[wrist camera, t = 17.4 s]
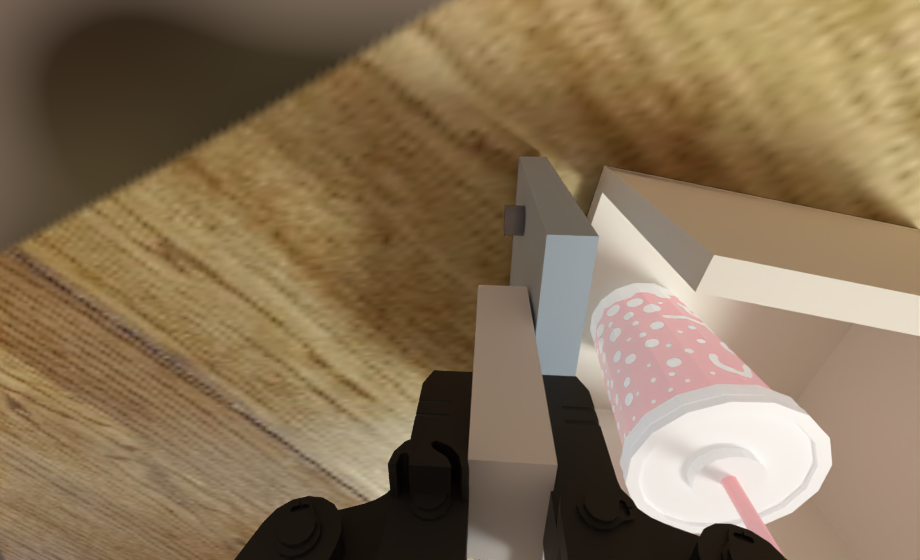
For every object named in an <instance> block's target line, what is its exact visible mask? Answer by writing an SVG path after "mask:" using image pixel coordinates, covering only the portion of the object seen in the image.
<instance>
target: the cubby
mask: <svg viewBox="0 0 920 560" xmlns="http://www.w3.org/2000/svg"><path fill="white" fill-rule="evenodd" d="M587 219H588V220H589V222H590V223H591V225H592V226H593V228H594V229H595V231H596V232H597V234H598V235H599V240H598V246H597V252H596V258H595V264H594V270H593V275H592V281H591V287H590V293H589V299H588V305H587V311H586V316H585V322H584V328H583V334H582V340H581V346H580V351H579V357H578V363H577V369H576V375H575V376H577V378H578V379H579V380H580V381H581V382H582V383H583V384H584V386H585V387H586V388H587V389H588V390H589V391H590V394H591V398H592V401H593V404H594V407H595V411H596V414H597V417H598V420H599V426H601V430H602V433H603V436H604V439H605V442H606V445H607V449H608V452H609V455H610V458H611V461H612V465H613V468H614V471H615V474H616V477H617V480H618V483H619V485H620V487H621V489H622V490H623V491H624V492H625V493H626V494H627V495H628V496H629V497H630V494H629V491H628V489H627V486H626V484H625V481H624V478H623V474H624V473H623V471H622V468H621V466H620V459H621V455H622V450H623V447H622V443H621V440H620V436H619V432H618V429H617V425H616V421H615V418H614V414H613V411H612V407H611V403H610V400H609V396H608V392H607V389H606V385H605V382H604V378H603V374H602V371H601V367H600V364H599V360H598V356H597V353H596V349H595V345H594V342H593V338H592V335H591V331H590V327H591V319H592V314H593V312H594V311H595V309H596V308H597V306H598V305H599V303H600V301H601V300H602V299H604V298H605V297H606V296H608V295H609V294H610V293H612V292H613V291H614V290H616V289H618V288H621V287H624V286H627V285H630V284H633V283H654V284H657V285H659V286H662V287H664V288H667V289H669V290H671V291H672V292H673V293H674V294H675V295H676V296H677V297H678V298H679V299H680V300H681V301H682V302H683V303H684V304H685V305H686V306H687V307H688V308H689V309H690V310H691V311H692V312H693V313H694V314H695V315H696V316H697V317H698V318H699V319H700V320H701V321H702V322H703V323H704V324H705V325H706V326H707V327H708V328H709V329H710V330H711V331H712V332H713V333H714V334H715V335H716V336H717V337H718V338H719V339H720V340H721V341H722V342H723V343H724V344H725V345H726V346H728V347H729V348H730V349H731V350H732V351H733V352H734V353H735V354H736V355H737V356H738V357H739V358H740V359H741V360H742V361H743V362H744V363H745V364H746V365H747V366H748V367H749V368H750V369H751V370H752V371H753V372H754V373H755V374H756V375H757V376H758V377H759V378H760V379H761V380H762V381H763V382H764V383H765V384H766V385H767V386H768V387H769V388H770V389H771V390H773V391H776V392H778V393H781V394H784V395H786V396H789V397H791V398H792V399H793V400H794V401H795V402H796V403H797V404H798V406H799V407H800V408H802V409H804V410H805V411H806V412H807V414H808V415H809V416H810V417H811V418H812V419H813V420H814V421H815V422H816V423H817V424H818V426H819V427H820V428H821V429H822V430H823V431H824V432H825V433H826V434H827V435H828V437H829V438H830V445H831V456H832V466H831V468H830V470H829V472H828V474H827V476H826V477H825V479H824V481H823V483H822V485H821V487H820V489H819V491H818V492H816V493H815V494H814V495H813V496H811V497H810V498H809V499H808V500H807V501H805V502H804V503H803V504H802V505H801V506H799V507H798V508H797V509H796V510H795V511H793V512H792V513H790V514H788V515H785V516H783V517H781V518H779V519H776V520H774V521H772V522H769V523H767V524H765V526H766V527H767V529H768V531H769V532H770V534H771V536H772V537H773V539H774V540H775V542H776V544H777V545H778V547H779V549H780V550H781V552H782V554H783V555H784V557H785V558H786V559H787V560H920V230H919V229H915V228H910V227H905V226H900V225H895V224H890V223H885V222H880V221H875V220H870V219H865V218H861V217H856V216H851V215H846V214H841V213H836V212H831V211H826V210H821V209H816V208H811V207H807V206H802V205H797V204H792V203H787V202H782V201H777V200H772V199H767V198H762V197H757V196H753V195H748V194H743V193H738V192H733V191H728V190H723V189H718V188H713V187H708V186H703V185H699V184H694V183H689V182H684V181H679V180H674V179H669V178H664V177H659V176H654V175H649V174H645V173H640V172H635V171H630V170H625V169H620V168H615V167H610V166H605V165H604V168H603V171H602V174H601V177H600V180H599V183H598V186H597V189H596V192H595V195H594V198H593V201H592V203H591V206H590V209H589V212H588V215H587ZM630 498H631V497H630ZM692 534H695V535H698V536H700V535H701V534H699V533H692ZM544 560H545V558H544Z"/></svg>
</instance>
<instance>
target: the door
mask: <svg viewBox="0 0 920 560" xmlns="http://www.w3.org/2000/svg"><path fill="white" fill-rule="evenodd" d="M504 235H512V236H513V247H512V260H511V274H510V286H522V287H527V290H528V296H529V302H530V308H531V314H532V319H533V325H534V331H535V337H536V343H537V348H538V354H539V360H540V366H541V371H542V375H560V376H575V375H576V369H577V363H578V357H579V351H580V346H581V340H582V334H583V328H584V322H585V316H586V311H587V305H588V299H589V293H590V287H591V281H592V275H593V270H594V264H595V258H596V252H597V246H598V240H599V235H598V234H597V232H596V231H595V229H594V228H593V226H592V225H591V223H590V222H589V220H588V219H587V217H586V216H585V214H584V213H583V211H582V210H581V208H580V207H579V205H578V204H577V202H576V201H575V199H574V198H573V196H572V195H571V193H570V192H569V190H568V189H567V187H566V186H565V184H564V183H563V181H562V180H561V178H560V177H559V175H558V174H557V172H556V171H555V169H554V168H553V166H552V165H551V163H550V162H549V160H548V159H547V157H526V156H519V165H518V178H517V192H516V205H505V212H504ZM542 560H544V551H543V558H542Z"/></svg>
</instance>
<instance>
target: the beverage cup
mask: <svg viewBox="0 0 920 560" xmlns="http://www.w3.org/2000/svg"><path fill="white" fill-rule="evenodd" d="M590 331H591V335H592V338H593V342H594V345H595V349H596V353H597V356H598V360H599V364H600V367H601V371H602V374H603V378H604V382H605V385H606V389H607V392H608V396H609V400H610V403H611V407H612V411H613V414H614V418H615V421H616V425H617V429H618V432H619V436H620V440H621V443H622V447H623V450H622V455H621V459H620V466H621V468H622V471H623V473H624V474H623V478H624V481H625V484H626V486H627V489H628V491H629V494H630V497H631V499H632V500H633V501H634V503H635V505H636V506H637V508H638V509H640V510H641V511H642V512H644V513H645V514H647V515H648V516H650V517H652V518H654V519H656V520H658V521H660V522H662V523H665V524H668V525H670V526H673V527H676V528H679V529H681V530H684V531H687V532H690V533H699V534H701V533H702V531H703V529H704V528H706V527H708V526H711V525H713V524H715V523H725V524H734V525H737V526H740V527H742V528H745V529H748V530H751V531H752V532H754V533H755V534H757V535H759V536H760V537H762V538H763V539H765V540H767V541H768V542H770V543H771V544H772V545H773V546H774V547H775V548H776V549H777V550H778V551H779V552H780V553H781V554H782V552H781V550H780V549H779V547H778V545H777V544H776V542H775V540H774V539H773V537H772V536H771V534H770V532H769V531H768V529H767V527H766V526H765V524H767V523H769V522H772V521H774V520H776V519H779V518H781V517H783V516H785V515H788V514H790V513H792V512H793V511H795V510H796V509H797V508H798V507H799V506H801V505H802V504H803V503H804V502H805V501H807V500H808V499H809V498H810V497H811V496H813V495H814V494H815V493H816V492H818V491H819V489H820V487H821V485H822V483H823V481H824V479H825V477H826V476H827V474H828V472H829V470H830V468H831V466H832V456H831V445H830V438H829V437H828V435H827V434H826V433H825V432H824V431H823V430H822V429H821V428H820V427H819V426H818V424H817V423H816V422H815V421H814V420H813V419H812V418H811V417H810V416H809V415H808V414H807V412H806V411H805V410H804V409H802V408H800V407H799V406H798V404H797V403H796V402H795V401H794V400H793V399H792V398H791V397H789V396H786V395H784V394H781V393H778V392H776V391H773V390H771V389H770V388H769V387H768V386H767V385H766V384H765V383H764V382H763V381H762V380H761V379H760V378H759V377H758V376H757V375H756V374H755V373H754V372H753V371H752V370H751V369H750V368H749V367H748V366H747V365H746V364H745V363H744V362H743V361H742V360H741V359H740V358H739V357H738V356H737V355H736V354H735V353H734V352H733V351H732V350H731V349H730V348H729V347H728V346H726V345H725V344H724V343H723V342H722V341H721V340H720V339H719V338H718V337H717V336H716V335H715V334H714V333H713V332H712V331H711V330H710V329H709V328H708V327H707V326H706V325H705V324H704V323H703V322H702V321H701V320H700V319H699V318H698V317H697V316H696V315H695V314H694V313H693V312H692V311H691V310H690V309H689V308H688V307H687V306H686V305H685V304H684V303H683V302H682V301H681V300H680V299H679V298H678V297H677V296H676V295H675V294H674V293H673V292H672V291H671V290H669V289H667V288H664V287H662V286H659V285H657V284H654V283H633V284H630V285H627V286H624V287H621V288H618V289H616V290H614V291H613V292H612V293H610V294H609V295H608V296H606V297H605V298H604V299H602V300H601V301H600V303H599V305H598V306H597V308H596V309H595V311H594V312H593V314H592V319H591V327H590ZM782 555H783V554H782ZM783 556H784V555H783Z"/></svg>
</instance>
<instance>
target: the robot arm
mask: <svg viewBox="0 0 920 560" xmlns="http://www.w3.org/2000/svg"><path fill="white" fill-rule="evenodd" d="M388 471H389V482H390V491H389V492H387V493H386V494H385V495H383V496H381V497H380V498H378V499H376V500H374V501H371V502H368V503H365V504H362V505H358V506H353V507H349V508H345V509H341V510H337V508H336V506H335V505H334V504H333V503H331V502H329V501H328V500H326V499H324V498H321V497H312V496H307V497H303V498H298V499H294V500H291V501H290V502H288V503H286V504H284V505H283V506H281V507H279V508H277V509H276V510H275V511H274V512H273V513H272V514H271V515H270V516H269V517H268V518H267V519H266V520H265V521H264V522H263V523H262V525H261V526H260V527H259V528H258V530H257V531H256V532H255V534H254V535H253V536H252V538H251V539H250V540H249V541H248V543H247V544H246V545H245V547H244V548H243V549H242V551H241V552H240V553H239V554H238V556H237V557H236V558H235V560H467V558H472V559H485V560H542V558H543V551H544V558H545V560H787V559H786V558H785V557H784V556H783V555H782V554H781V553H780V552H779V551H778V550H777V549H776V548H775V547H774V546H773V545H772V544H771V543H770V542H768V541H767V540H765V539H763V538H762V537H760V536H759V535H757V534H755V533H754V532H752V531H751V530H748V529H745V528H742V527H740V526H737V525H734V524H725V523H715V524H713V525H711V526H708V527H706V528H704V529H703V531H702V533H701V535H700V536H698V535H695V534H692V533H690V532H687V531H684V530H681V529H679V528H676V527H673V526H670V525H668V524H665V523H662V522H660V521H658V520H656V519H654V518H652V517H650V516H648V515H647V514H645V513H644V512H642V511H641V510H640V509H638V508H637V506H636V505H635V503H634V501H633V500H632V499H631V498H630V497H629V496H628V495H627V494H626V493H625V492H624V491H623V490H622V489H621V487H620V485H619V483H618V480H617V477H616V474H615V471H614V468H613V465H612V461H611V458H610V455H609V452H608V449H607V445H606V442H605V439H604V436H603V433H602V430H601V426H599V420H598V417H597V414H596V411H595V407H594V404H593V401H592V398H591V394H590V391H589V390H588V389H587V388H586V387H585V386H584V384H583V383H582V382H581V381H580V380H579V379H578V378H577V376H560V375H542V371H541V366H540V360H539V354H538V348H537V343H536V337H535V331H534V325H533V319H532V314H531V308H530V302H529V296H528V290H527V287H522V286H498V285H478V297H477V314H476V331H475V347H474V364H473V372H457V371H438V370H434V371H433V372H432V373H431V374H430V376H429V377H428V378H427V379H426V380H425V381H424V383H423V385H422V389H421V394H420V398H419V403H418V407H417V412H416V417H415V421H414V426H413V430H412V435H411V439H410V440H408V441H405V442H404V443H403V444H402V445H401V446H399V447H398V448H397V449H396V450H395V451H394V452H393V454H392V456H391V458H390V460H389V462H388Z"/></svg>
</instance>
